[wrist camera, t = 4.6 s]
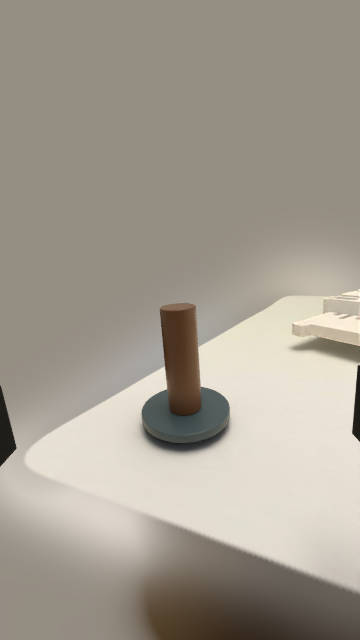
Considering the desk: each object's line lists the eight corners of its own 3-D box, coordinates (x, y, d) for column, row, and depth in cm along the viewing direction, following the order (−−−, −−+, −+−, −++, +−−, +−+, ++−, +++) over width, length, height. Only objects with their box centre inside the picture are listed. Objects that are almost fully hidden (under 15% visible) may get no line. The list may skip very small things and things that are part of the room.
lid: (218, 461, 16) (211, 319, 14) (126, 440, 18) (109, 316, 16) (237, 404, 22) (234, 297, 20) (165, 394, 24) (156, 298, 22)
